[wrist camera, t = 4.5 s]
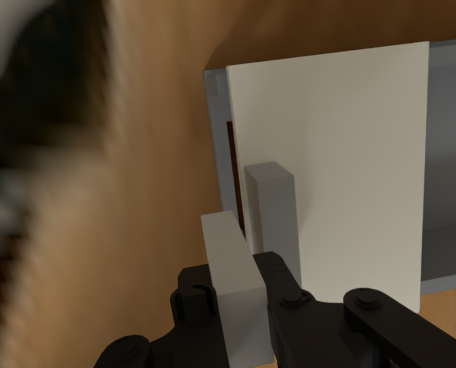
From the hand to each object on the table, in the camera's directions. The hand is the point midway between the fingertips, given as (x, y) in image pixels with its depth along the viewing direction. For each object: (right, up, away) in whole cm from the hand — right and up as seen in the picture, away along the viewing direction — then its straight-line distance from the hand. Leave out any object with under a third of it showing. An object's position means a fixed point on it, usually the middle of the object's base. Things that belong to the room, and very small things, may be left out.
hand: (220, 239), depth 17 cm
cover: (+6, +2, +3) cm, 7 cm away
